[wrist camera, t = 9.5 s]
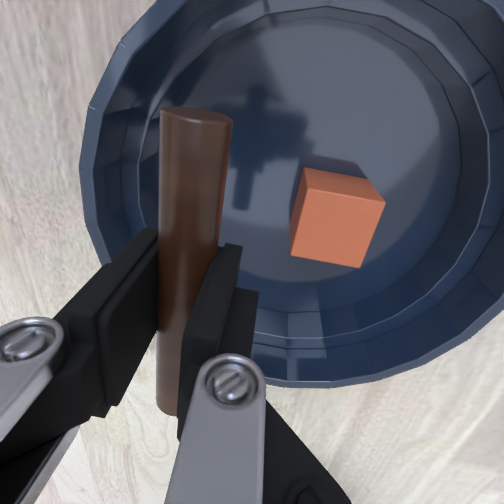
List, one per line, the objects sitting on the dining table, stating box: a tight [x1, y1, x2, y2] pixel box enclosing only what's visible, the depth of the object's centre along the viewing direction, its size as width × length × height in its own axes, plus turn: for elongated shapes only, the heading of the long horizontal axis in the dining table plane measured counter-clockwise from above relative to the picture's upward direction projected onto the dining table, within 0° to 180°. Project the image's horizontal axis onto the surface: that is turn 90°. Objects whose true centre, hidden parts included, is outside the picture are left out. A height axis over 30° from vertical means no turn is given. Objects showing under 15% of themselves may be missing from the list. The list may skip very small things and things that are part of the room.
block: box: [289, 167, 386, 268], centre depth 16 cm, size 4×4×4 cm
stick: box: [156, 107, 233, 416], centre depth 9 cm, size 10×2×2 cm, turn 171°
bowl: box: [79, 0, 504, 388], centre depth 16 cm, size 19×19×6 cm
